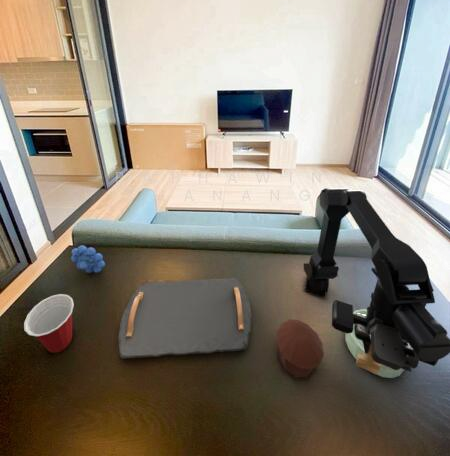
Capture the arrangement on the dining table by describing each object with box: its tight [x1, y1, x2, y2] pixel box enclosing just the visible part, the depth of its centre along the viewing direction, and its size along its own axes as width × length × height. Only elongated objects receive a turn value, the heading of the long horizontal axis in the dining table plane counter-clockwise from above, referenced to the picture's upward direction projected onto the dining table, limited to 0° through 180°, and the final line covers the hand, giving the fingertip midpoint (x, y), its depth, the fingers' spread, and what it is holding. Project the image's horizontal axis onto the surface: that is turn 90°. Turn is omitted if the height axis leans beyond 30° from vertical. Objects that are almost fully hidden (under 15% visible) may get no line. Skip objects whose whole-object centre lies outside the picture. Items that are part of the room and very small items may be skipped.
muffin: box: [276, 318, 325, 379], centre depth 63 cm, size 12×11×10 cm
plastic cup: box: [23, 293, 75, 354], centre depth 66 cm, size 11×11×12 cm
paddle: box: [355, 343, 381, 375], centre depth 55 cm, size 4×2×11 cm, turn 67°
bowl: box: [344, 308, 411, 379], centre depth 66 cm, size 14×14×6 cm
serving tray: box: [117, 277, 253, 359], centre depth 73 cm, size 39×23×6 cm, turn 94°
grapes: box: [70, 245, 106, 274], centre depth 88 cm, size 12×7×12 cm, turn 88°
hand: (371, 353), depth 55 cm, fingers closed on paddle, 2 cm apart
